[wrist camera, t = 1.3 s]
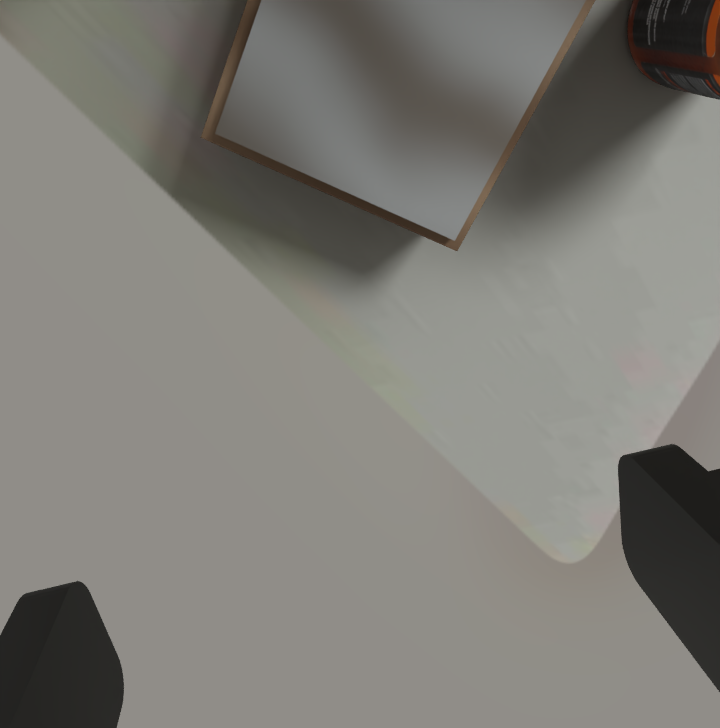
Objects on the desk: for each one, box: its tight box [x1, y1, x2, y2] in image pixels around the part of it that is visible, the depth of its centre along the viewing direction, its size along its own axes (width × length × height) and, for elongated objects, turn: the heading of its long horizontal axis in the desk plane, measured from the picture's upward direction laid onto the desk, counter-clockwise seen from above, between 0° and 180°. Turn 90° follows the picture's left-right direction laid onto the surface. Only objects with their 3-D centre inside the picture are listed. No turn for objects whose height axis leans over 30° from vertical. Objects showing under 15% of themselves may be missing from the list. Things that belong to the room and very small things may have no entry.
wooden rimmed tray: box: [201, 0, 595, 251], centre depth 28 cm, size 12×12×6 cm
